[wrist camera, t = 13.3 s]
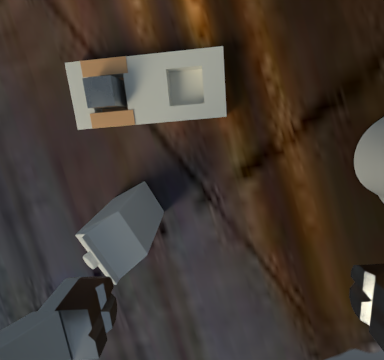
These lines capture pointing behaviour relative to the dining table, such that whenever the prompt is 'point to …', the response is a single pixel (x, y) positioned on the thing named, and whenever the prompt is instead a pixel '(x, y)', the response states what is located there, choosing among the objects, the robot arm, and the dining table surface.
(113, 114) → the socket rail
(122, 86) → the dark gray block
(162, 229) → the dining table surface
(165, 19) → the dining table surface
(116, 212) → the milk carton
